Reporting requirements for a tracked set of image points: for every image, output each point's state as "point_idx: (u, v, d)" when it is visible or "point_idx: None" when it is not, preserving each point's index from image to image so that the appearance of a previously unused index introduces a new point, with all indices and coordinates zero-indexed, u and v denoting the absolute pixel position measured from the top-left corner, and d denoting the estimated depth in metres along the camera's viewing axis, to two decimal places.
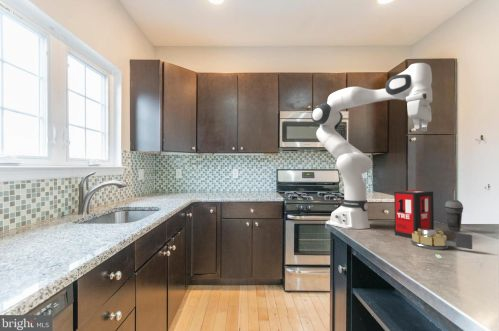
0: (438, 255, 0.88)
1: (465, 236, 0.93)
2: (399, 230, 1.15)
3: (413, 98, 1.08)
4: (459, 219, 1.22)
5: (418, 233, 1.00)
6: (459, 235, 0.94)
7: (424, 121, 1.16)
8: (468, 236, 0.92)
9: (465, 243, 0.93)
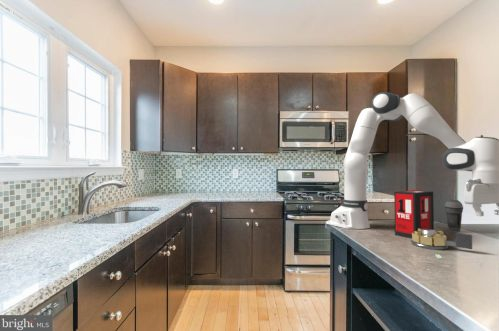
0: (438, 255, 0.88)
1: (465, 236, 0.93)
2: (399, 230, 1.15)
3: None
4: (459, 219, 1.22)
5: (418, 233, 1.00)
6: (459, 235, 0.94)
7: None
8: (468, 236, 0.92)
9: (465, 243, 0.93)
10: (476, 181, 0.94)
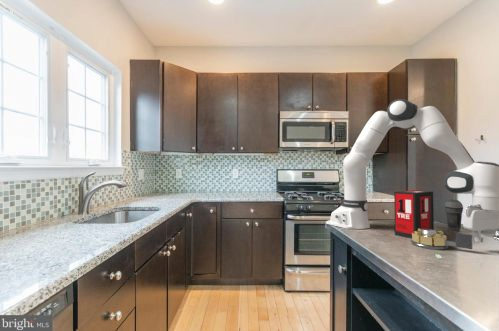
0: (438, 255, 0.88)
1: (465, 236, 0.93)
2: (399, 230, 1.15)
3: None
4: (459, 219, 1.22)
5: (418, 233, 1.00)
6: (459, 235, 0.94)
7: None
8: (468, 236, 0.92)
9: (465, 243, 0.93)
10: (476, 207, 0.94)
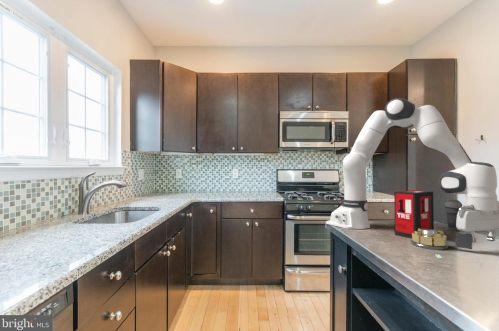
0: (438, 255, 0.88)
1: (465, 236, 0.93)
2: (399, 230, 1.15)
3: None
4: None
5: (418, 233, 1.00)
6: (459, 235, 0.94)
7: None
8: (468, 236, 0.92)
9: (465, 243, 0.93)
10: (469, 207, 0.93)
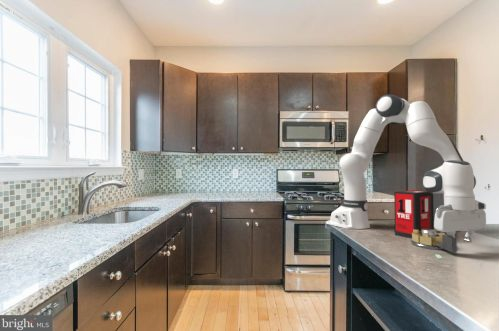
0: (438, 255, 0.88)
1: (447, 238, 0.90)
2: (399, 230, 1.15)
3: None
4: None
5: (414, 231, 1.04)
6: (444, 237, 0.92)
7: None
8: (449, 238, 0.89)
9: (448, 245, 0.90)
10: (447, 207, 0.91)
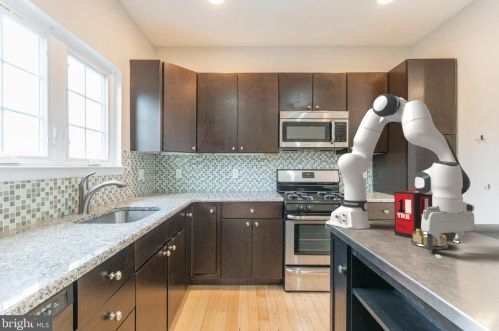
0: (438, 255, 0.88)
1: (426, 236, 0.92)
2: (399, 230, 1.15)
3: None
4: None
5: (417, 230, 1.06)
6: None
7: None
8: (426, 236, 0.92)
9: None
10: (434, 209, 0.90)
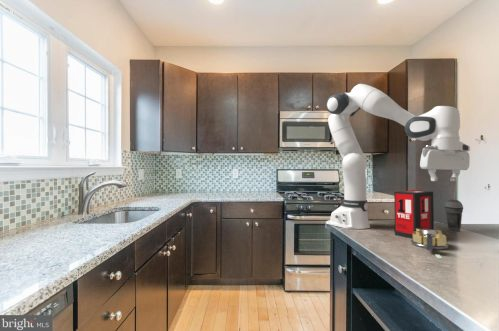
0: (438, 255, 0.88)
1: (426, 236, 0.92)
2: (399, 230, 1.15)
3: None
4: (459, 219, 1.22)
5: (417, 230, 1.06)
6: None
7: None
8: (426, 236, 0.92)
9: None
10: (432, 147, 0.98)
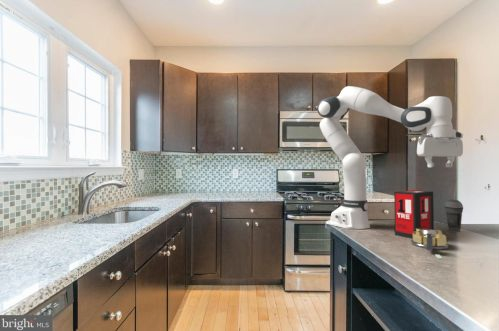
0: (438, 255, 0.88)
1: (426, 236, 0.92)
2: (399, 230, 1.15)
3: None
4: (459, 219, 1.22)
5: (417, 230, 1.06)
6: None
7: None
8: (426, 236, 0.92)
9: None
10: (428, 135, 1.04)
